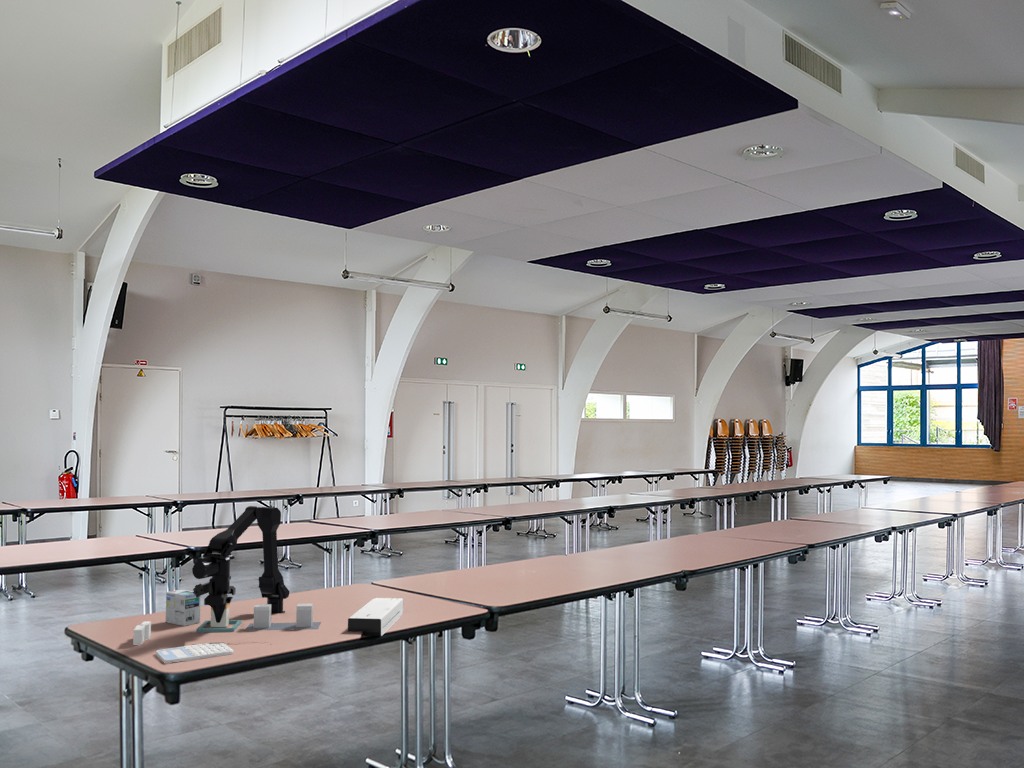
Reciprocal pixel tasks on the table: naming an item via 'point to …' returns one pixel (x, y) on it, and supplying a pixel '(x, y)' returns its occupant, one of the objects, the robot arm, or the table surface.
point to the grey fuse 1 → (262, 616)
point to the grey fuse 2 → (304, 615)
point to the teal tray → (203, 629)
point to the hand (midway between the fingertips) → (219, 621)
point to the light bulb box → (182, 607)
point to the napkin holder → (142, 633)
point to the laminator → (376, 616)
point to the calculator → (194, 652)
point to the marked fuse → (224, 619)
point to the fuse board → (282, 626)
